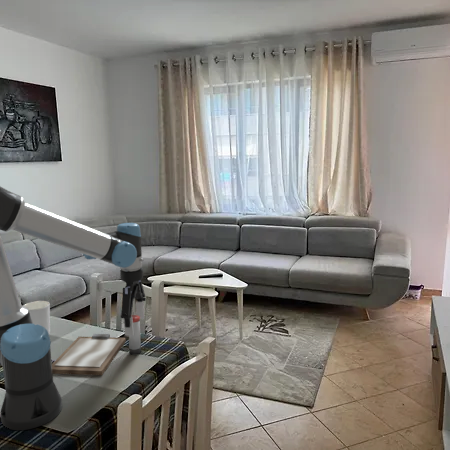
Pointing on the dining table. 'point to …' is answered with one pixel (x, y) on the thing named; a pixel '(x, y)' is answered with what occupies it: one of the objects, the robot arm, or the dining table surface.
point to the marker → (135, 337)
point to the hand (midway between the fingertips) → (135, 326)
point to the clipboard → (88, 355)
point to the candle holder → (40, 313)
